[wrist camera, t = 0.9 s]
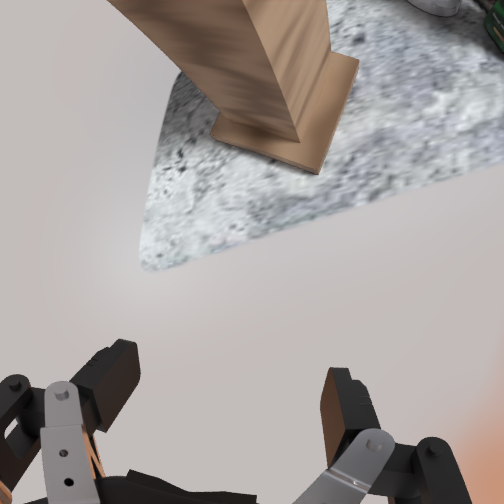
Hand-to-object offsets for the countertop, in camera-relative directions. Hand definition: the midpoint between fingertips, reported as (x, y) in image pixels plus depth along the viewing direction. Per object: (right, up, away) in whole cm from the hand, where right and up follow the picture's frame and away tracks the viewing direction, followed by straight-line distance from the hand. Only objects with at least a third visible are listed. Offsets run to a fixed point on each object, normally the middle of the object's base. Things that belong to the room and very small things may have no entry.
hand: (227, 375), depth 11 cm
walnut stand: (+5, +22, +18) cm, 29 cm away
